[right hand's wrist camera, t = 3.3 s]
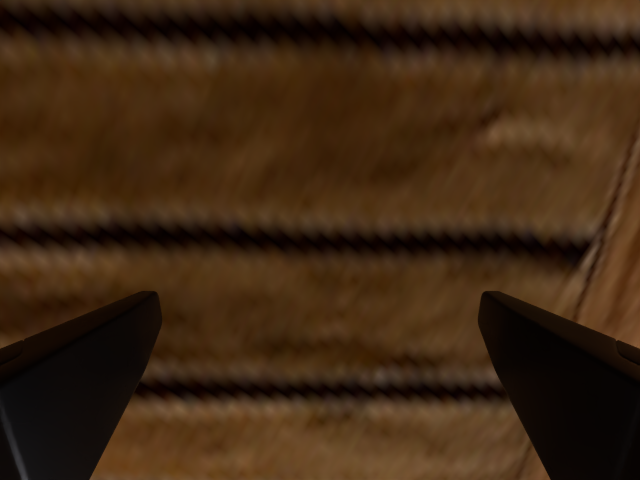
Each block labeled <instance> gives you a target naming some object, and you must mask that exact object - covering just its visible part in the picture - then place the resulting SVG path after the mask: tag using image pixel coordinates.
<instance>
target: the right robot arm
mask: <svg viewBox="0 0 640 480" xmlns="http://www.w3.org/2000/svg"><path fill="white" fill-rule="evenodd" d="M161 325H162V314H161V308H160V301H159V296H158V294H157V292H155V291H141V292H138V293H136V294H133V295H131V296H128V297H126V298H124V299H121V300H119V301H116V302H114V303H111V304H109V305H106V306H104V307H102V308H99V309H97V310H94V311H92V312H89V313H87V314H84V315H82V316H80V317H77V318H75V319H72V320H70V321H67V322H65V323H62V324H60V325H58V326H55V327H53V328H50V329H48V330H45V331H43V332H40V333H38V334H36V335H33V336H31V337H28V338H26V339H24V341H23V340H21V341H18V342H16V343H13V344H11V345H9V346H6V347H3V348H1V349H0V480H89V479H90V477H91V475H92V473H93V471H94V469H95V468H96V466H97V464H98V462H99V460H100V458H101V456H102V454H103V452H104V450H105V448H106V446H107V444H108V442H109V440H110V438H111V436H112V434H113V432H114V430H115V428H116V426H117V424H118V422H119V421H120V419H121V417H122V415H123V413H124V411H125V409H126V407H127V405H128V403H129V401H130V399H131V397H132V395H133V393H134V391H135V389H136V387H137V385H138V383H139V381H140V379H141V377H142V375H143V373H144V371H145V369H146V366H147V364H148V361H149V358H150V356H151V353H152V350H153V347H154V345H155V342H156V339H157V336H158V334H159V331H160V328H161ZM478 325H479V328H480V331H481V334H482V336H483V339H484V342H485V345H486V347H487V350H488V353H489V356H490V358H491V361H492V364H493V366H494V369H495V371H496V373H497V375H498V377H499V379H500V381H501V383H502V385H503V387H504V389H505V391H506V393H507V395H508V397H509V399H510V401H511V403H512V405H513V407H514V409H515V411H516V413H517V415H518V417H519V419H520V421H521V423H522V424H523V426H524V428H525V430H526V432H527V434H528V436H529V438H530V440H531V442H532V444H533V446H534V448H535V450H536V452H537V454H538V456H539V458H540V460H541V462H542V464H543V466H544V468H545V469H546V471H547V473H548V475H549V477H550V479H551V480H640V349H639V348H637V347H634V346H631V345H629V344H627V343H624V342H622V341H619V340H617V341H616V339H614V338H612V337H609V336H607V335H604V334H602V333H600V332H597V331H595V330H592V329H590V328H587V327H585V326H582V325H580V324H578V323H575V322H573V321H570V320H568V319H565V318H563V317H560V316H558V315H556V314H553V313H551V312H548V311H546V310H543V309H541V308H538V307H536V306H534V305H531V304H529V303H526V302H524V301H521V300H519V299H516V298H514V297H512V296H509V295H507V294H504V293H502V292H499V291H485V292H483V294H482V296H481V301H480V308H479V314H478Z"/></svg>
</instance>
